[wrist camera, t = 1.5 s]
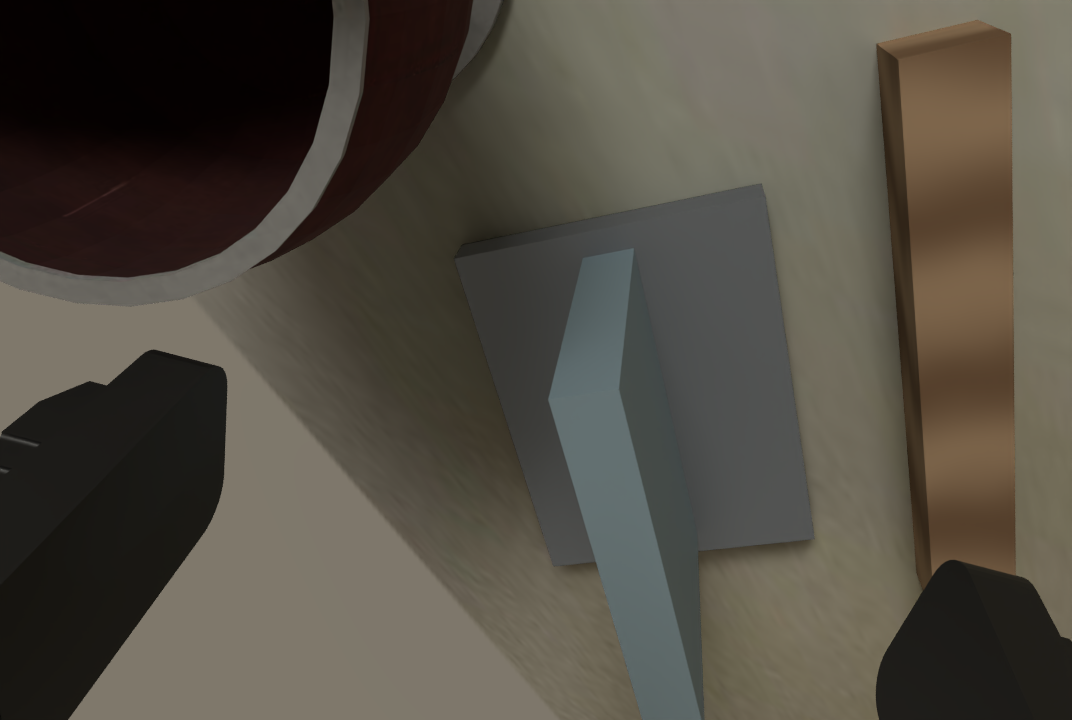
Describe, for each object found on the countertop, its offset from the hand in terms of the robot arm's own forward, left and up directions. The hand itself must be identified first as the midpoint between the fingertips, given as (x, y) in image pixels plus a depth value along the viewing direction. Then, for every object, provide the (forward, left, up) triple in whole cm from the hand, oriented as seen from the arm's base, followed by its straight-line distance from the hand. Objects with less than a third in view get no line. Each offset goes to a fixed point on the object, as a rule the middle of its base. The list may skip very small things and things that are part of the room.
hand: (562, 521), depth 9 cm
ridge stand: (+2, +13, -25) cm, 28 cm away
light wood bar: (-10, +13, -25) cm, 30 cm away
